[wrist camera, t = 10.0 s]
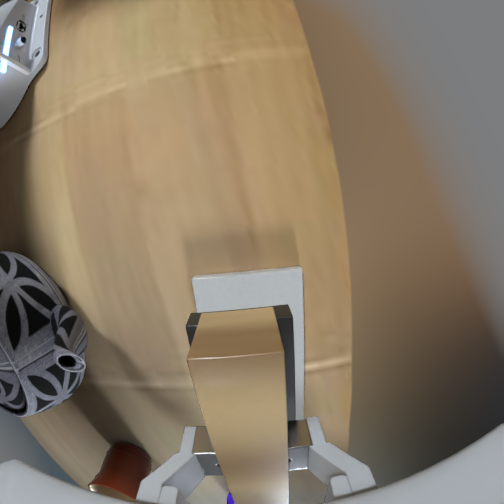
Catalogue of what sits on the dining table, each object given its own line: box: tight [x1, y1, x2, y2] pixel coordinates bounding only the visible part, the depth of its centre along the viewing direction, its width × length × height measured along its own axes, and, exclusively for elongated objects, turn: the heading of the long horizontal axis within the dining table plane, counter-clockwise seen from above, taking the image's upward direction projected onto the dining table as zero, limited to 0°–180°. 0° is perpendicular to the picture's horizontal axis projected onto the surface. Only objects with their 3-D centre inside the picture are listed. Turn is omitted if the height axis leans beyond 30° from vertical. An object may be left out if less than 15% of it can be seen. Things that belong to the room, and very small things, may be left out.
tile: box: [192, 266, 304, 420], centre depth 27 cm, size 20×10×1 cm, turn 5°
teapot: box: [0, 251, 88, 417], centre depth 19 cm, size 19×31×15 cm, turn 103°
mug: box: [88, 442, 152, 503], centre depth 27 cm, size 12×9×10 cm
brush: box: [186, 304, 296, 504], centre depth 10 cm, size 11×4×4 cm, turn 6°
